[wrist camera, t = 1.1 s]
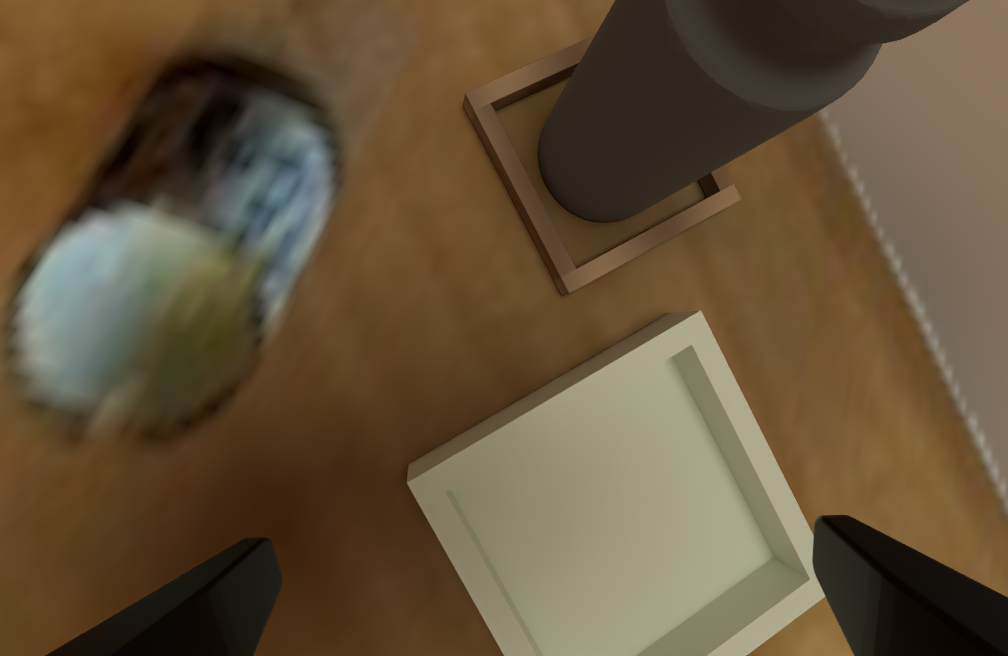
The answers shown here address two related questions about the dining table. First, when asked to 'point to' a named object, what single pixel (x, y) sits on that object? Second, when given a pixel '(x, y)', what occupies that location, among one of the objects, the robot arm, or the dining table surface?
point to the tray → (624, 509)
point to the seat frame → (525, 197)
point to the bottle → (704, 89)
